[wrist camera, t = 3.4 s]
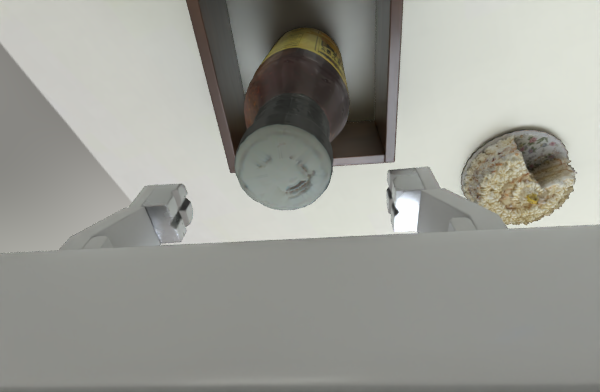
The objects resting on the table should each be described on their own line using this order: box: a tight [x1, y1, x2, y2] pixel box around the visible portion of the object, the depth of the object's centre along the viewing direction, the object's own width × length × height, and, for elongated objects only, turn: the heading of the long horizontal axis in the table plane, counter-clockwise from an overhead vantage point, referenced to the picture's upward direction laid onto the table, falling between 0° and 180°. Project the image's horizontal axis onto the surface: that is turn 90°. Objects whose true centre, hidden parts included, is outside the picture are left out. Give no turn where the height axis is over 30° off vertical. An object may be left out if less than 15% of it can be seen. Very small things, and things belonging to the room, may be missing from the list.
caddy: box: [186, 0, 403, 173], centre depth 28 cm, size 14×14×7 cm
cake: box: [461, 130, 577, 225], centre depth 34 cm, size 10×10×5 cm
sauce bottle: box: [234, 28, 350, 210], centre depth 22 cm, size 6×6×20 cm
